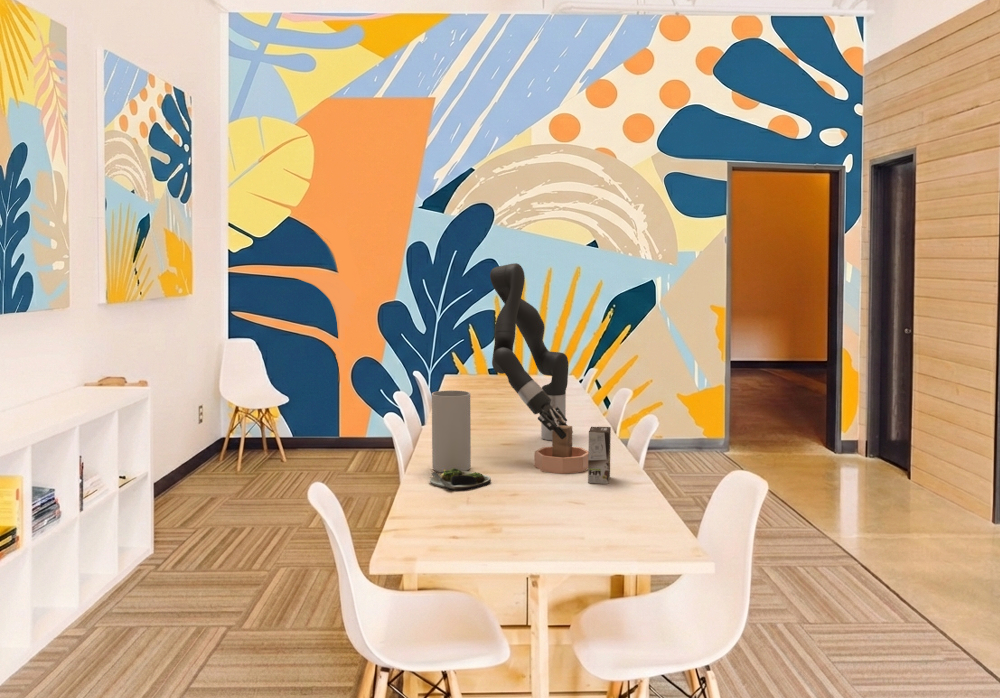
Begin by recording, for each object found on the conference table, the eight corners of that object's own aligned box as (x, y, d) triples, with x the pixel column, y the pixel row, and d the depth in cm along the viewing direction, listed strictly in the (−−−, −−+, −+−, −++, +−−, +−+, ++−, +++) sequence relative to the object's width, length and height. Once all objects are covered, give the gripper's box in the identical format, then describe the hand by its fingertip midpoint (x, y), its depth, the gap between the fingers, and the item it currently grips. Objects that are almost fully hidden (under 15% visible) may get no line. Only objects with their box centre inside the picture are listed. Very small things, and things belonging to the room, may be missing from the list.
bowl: (548, 458, 285) (548, 444, 284) (595, 463, 277) (595, 449, 277) (528, 469, 269) (528, 454, 269) (577, 475, 262) (577, 460, 261)
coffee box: (608, 484, 252) (609, 432, 250) (587, 483, 253) (588, 431, 251) (610, 476, 261) (611, 426, 259) (590, 475, 262) (590, 425, 260)
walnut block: (558, 457, 276) (558, 424, 275) (572, 458, 274) (572, 426, 273) (552, 460, 272) (552, 427, 271) (566, 462, 270) (566, 428, 269)
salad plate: (412, 483, 254) (412, 468, 254) (454, 472, 267) (454, 458, 267) (456, 495, 241) (456, 480, 241) (498, 483, 254) (498, 468, 254)
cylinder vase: (427, 466, 274) (426, 391, 271) (462, 462, 279) (462, 389, 276) (439, 475, 262) (439, 397, 260) (476, 471, 267) (476, 395, 265)
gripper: (533, 392, 267) (567, 432, 264) (550, 386, 280) (583, 424, 276) (518, 407, 270) (551, 447, 266) (535, 401, 283) (568, 438, 279)
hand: (567, 435), depth 271 cm, fingers closed on walnut block, 5 cm apart
